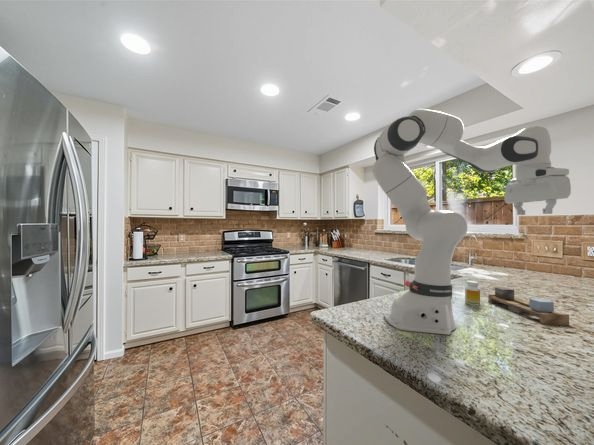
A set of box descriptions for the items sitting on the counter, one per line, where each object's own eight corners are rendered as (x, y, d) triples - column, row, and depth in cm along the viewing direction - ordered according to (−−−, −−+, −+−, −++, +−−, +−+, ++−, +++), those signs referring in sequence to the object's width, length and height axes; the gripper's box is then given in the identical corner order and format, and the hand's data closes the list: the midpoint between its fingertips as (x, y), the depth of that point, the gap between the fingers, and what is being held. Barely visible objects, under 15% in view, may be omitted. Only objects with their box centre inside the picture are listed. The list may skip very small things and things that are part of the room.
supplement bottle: (482, 306, 102) (482, 283, 103) (468, 305, 104) (468, 282, 104) (476, 302, 108) (476, 280, 108) (462, 301, 109) (462, 279, 109)
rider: (539, 314, 88) (539, 301, 88) (529, 310, 92) (529, 298, 92) (553, 314, 88) (553, 302, 88) (542, 310, 92) (542, 298, 92)
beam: (543, 324, 84) (543, 304, 84) (488, 301, 109) (488, 286, 109) (569, 324, 84) (569, 304, 84) (508, 302, 109) (508, 286, 109)
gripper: (499, 180, 94) (499, 215, 94) (554, 168, 74) (555, 213, 74) (515, 180, 94) (515, 215, 94) (575, 168, 74) (575, 213, 74)
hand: (533, 214), depth 84 cm, fingers open, 8 cm apart
